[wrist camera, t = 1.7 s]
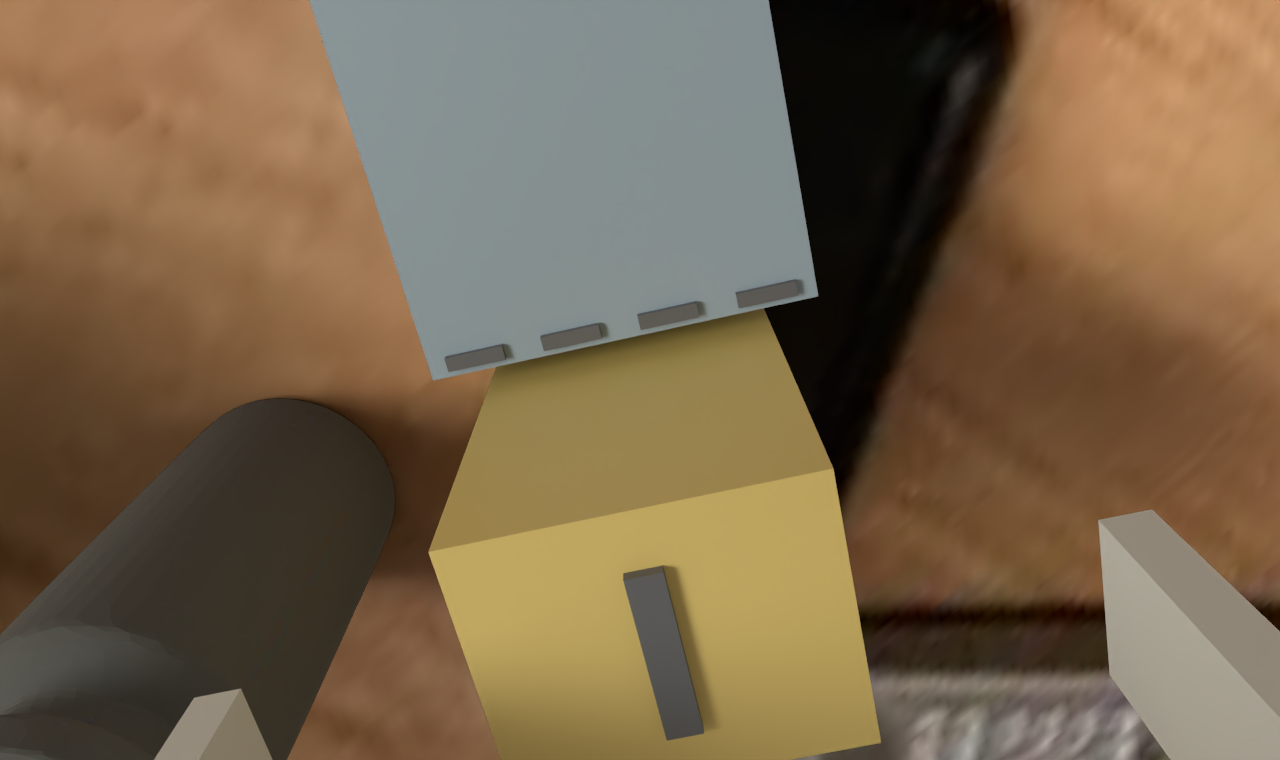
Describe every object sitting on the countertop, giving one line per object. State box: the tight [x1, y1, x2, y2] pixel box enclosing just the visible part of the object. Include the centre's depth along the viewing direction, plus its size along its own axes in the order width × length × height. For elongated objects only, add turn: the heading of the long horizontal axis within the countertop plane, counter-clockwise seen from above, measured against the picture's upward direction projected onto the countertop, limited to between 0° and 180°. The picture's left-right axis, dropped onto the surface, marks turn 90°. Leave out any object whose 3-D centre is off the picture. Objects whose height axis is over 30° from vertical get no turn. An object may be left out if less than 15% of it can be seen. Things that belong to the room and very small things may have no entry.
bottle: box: [0, 399, 395, 760], centre depth 21 cm, size 6×6×15 cm
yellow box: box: [428, 308, 881, 760], centre depth 21 cm, size 5×6×12 cm
